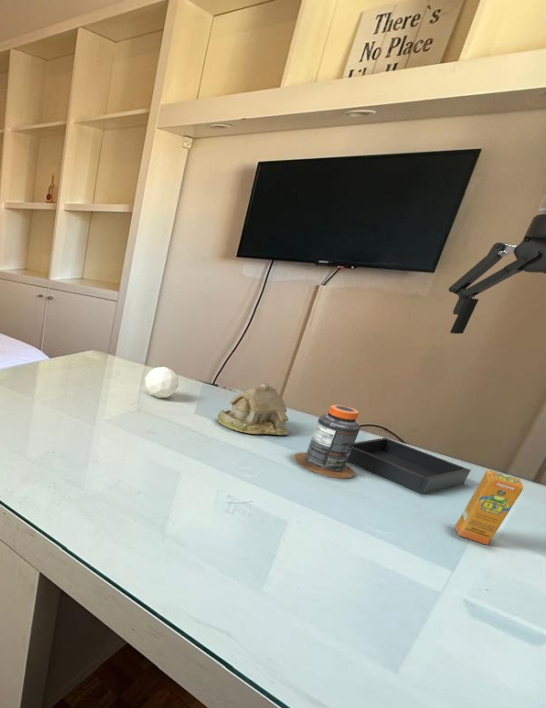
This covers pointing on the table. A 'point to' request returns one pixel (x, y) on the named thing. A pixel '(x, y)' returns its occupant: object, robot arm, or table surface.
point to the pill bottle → (333, 438)
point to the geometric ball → (161, 382)
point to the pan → (407, 465)
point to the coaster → (342, 474)
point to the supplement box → (488, 507)
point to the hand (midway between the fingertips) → (505, 342)
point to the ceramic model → (256, 412)
